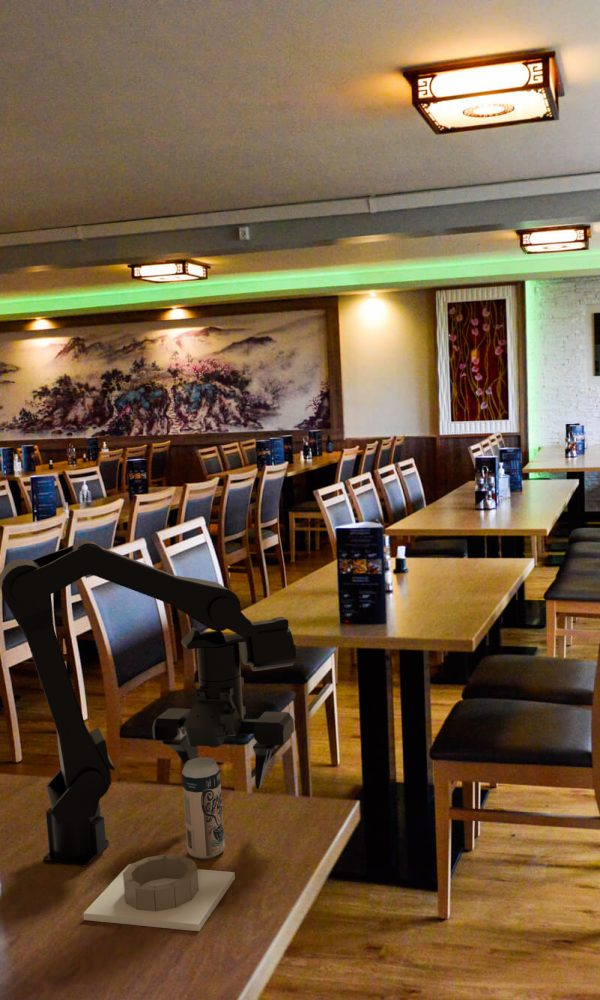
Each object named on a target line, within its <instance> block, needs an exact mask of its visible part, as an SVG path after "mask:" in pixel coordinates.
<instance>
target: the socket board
mask: <svg viewBox="0 0 600 1000" xmlns="http://www.w3.org/2000/svg"><path fill="white" fill-rule="evenodd" d="M235 874H236V873H235V872H234V871H222V870H209V869H200V868H199V869H198V867H197V865H196V862H195V861H194V860H192V859H190V858H189V857H186V856H184V855H177V854H159V855H154V856H153V855H152V856H148V857H145V858H143V859H141V860H138V861H136V862H134V863H128V865H127V866H126V867H124V869H123V870H122V871H121V872H120V873H119V874H118V875H117V876H116V877H115V879H113V880H112V882H111V883H110V884H109V885H108V886H107V887H106V888H105V889H104V890H103V891H102V893H101V894H99V896H98V897H97V898H96V899H95V900H94V901H93V902H92V903H91V904H90V905H89V906H88V907H87V909H86V910H85V911H84V912H83V920H84V921H92V922H102V923H112V924H122V925H131V926H132V925H133V926H139V927H141V926H143V927H151V928H152V927H153V928H163V929H172V930H182V931H183V930H184V931H193V932H194V931H195V932H200V931H201V929H202V928H203V926H204V925H205V923H206V922H207V920H208V919H209V917H210V916H211V914H212V913H213V911H214V910H215V909H216V907H218V904H219V903H220V901H221V900H222V898H223V897H224V895H225V894H226V892H227V891H228V890H229V888H230V886H232V884H233V883H234V880H235V879H236V875H235Z"/></svg>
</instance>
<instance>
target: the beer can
mask: <svg viewBox="0 0 600 1000" xmlns="http://www.w3.org/2000/svg"><path fill="white" fill-rule="evenodd" d="M220 770H221V769H220V766H219V765H218V764H217V761H216V759H214V758H212V757H198V758H194V759H191V760H189V761H187V762H186V763H185V766H184V765H183V768H182V770H181V778H182V790H183V791H182V792H183V807H184V808H183V809H184V819H185V820H184V821H185V835H186V846H187V847H186V848H187V853H188V854H189V855H190V856H192V857H194V858H195V859H199V860H208V859H214V858H215V857H217V856H219V854H220V855H221V853H222V852H223V851H224V850H225V845H226V844H225V831H224V817H223V801H222V786H221V771H220Z"/></svg>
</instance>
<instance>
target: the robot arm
mask: <svg viewBox="0 0 600 1000" xmlns="http://www.w3.org/2000/svg"><path fill="white" fill-rule="evenodd" d="M88 575H89V576H90V575H91V576H93V577H97V578H99V579H102V580H105V581H108V582H110V583H112V584H113V583H114V584H115V585H118V586H121V587H124V588H126V589H129V590H131V591H134V592H136V593H140V594H142V595H144V596H147V597H150V598H153V599H155V600H158V601H160V602H163V603H166V604H169V605H171V606H173V608H175V609H177V610H178V611H180V612H182V613H184V614H185V615H186V616H188V617H189V618H190V619H191V618H192V619H193V620H195V621H197V622H198V623H200V624H201V625H202V626H204V627H206V628H208V629H210V631H204V632H199V630H197V629H196V628H195V627H191V629H190V631H189V632H188V633H187V634H186V636H184V637H183V638H182V639H181V641H180V643H181V645H182V646H183V647H184V648H186V649H187V650H189V651H191V650H196V657H197V671H198V672H197V673H198V684H199V685H198V687H196V688H195V690H196V691H195V692H196V693H195V702H194V705H193V707H192V708H175V707H174V708H172V707H171V708H167V709H166V710H165V711H164V712H162V713H161V714H160V715H158V717H156V718H155V719H154V720H153V724H152V739H153V740H155V741H162V745H164V746H167V747H170V748H171V749H172V750H174V751H175V752H176V753H177V755H178V757H179V758H180V760H181V763H182V764H183V767H184V766H185V763H186V762H187V761H189V760H191V759H194V758H199V751H198V747H210V748H214V749H217V748H220V747H221V746H222V745H223V744H224V742H225V739H227V738H228V737H236V736H237V735H238V734H246V735H248V734H249V735H253V739H254V740H255V741H256V742H255V744H254V745H253V746H252V749H253V752H254V754H255V757H254V759H255V760H254V761H255V762H254V763H255V765H254V769H255V770H254V783H255V784H254V785H255V789H256V790H260V789H261V788H262V784H263V783H264V782H263V781H264V778H265V775H266V772H267V769H268V765H269V762H270V759H271V757H272V753H273V751H274V750H276V749H277V748H278V747H279V746H281V745H285V743H287V741H288V740H289V738H290V737H291V736H292V734H293V733H294V732H295V724H294V718H293V716H292V715H291V714H290V713H289V712H288V711H264V712H263V713H262V714H261V715H260V717H259V718H257V719H255V718H254V719H252V718H251V719H250V718H244V716H245V715H246V713H247V711H246V710H247V709H246V705H245V706H244V705H243V691H242V690H243V689H242V687H243V686H244V685H245V681H244V680H245V679H244V677H242V674H241V662H242V663H243V665H244V666H248V665H249V667H250V669H251V671H252V672H257V671H258V672H259V671H264V670H265V671H266V670H271V669H278V668H285V667H290V666H294V664H295V662H296V658H297V648H296V643H294V638H293V634H292V631H291V629H290V627H289V620H288V619H287V618H286V617H284V616H279V617H273V618H270V619H267V620H259V621H252V620H250V619H249V618H247V617H246V616H245V614H244V613H243V612H242V611H241V610H242V605H241V601H240V598H239V596H238V595H237V594H236V593H235V592H234V591H232V590H231V589H228V588H227V587H225V586H224V585H222V584H220V583H218V582H215V581H210V580H206V579H201V578H200V579H199V578H195V577H194V578H193V577H187V576H179V575H176V574H172V573H170V572H167V571H164V570H161V569H159V568H156V567H154V566H152V565H149V564H146V563H144V562H141V561H138V560H136V559H133V558H131V557H129V556H126V555H123V554H121V553H118V552H115V551H113V550H110V549H108V548H105V547H103V546H99V545H98V544H97V543H96V542H94V541H92V540H88V539H86V540H85V539H84V540H79V541H78V542H75V544H72V545H70V546H68V547H65V548H62V549H58V550H56V551H52V552H50V553H46V554H44V555H41V556H39V557H36V558H35V559H27V558H18V559H17V558H16V559H13V560H11V561H10V562H8V563H7V564H6V565H5V566H4V567H3V568H2V571H1V572H0V592H1V595H2V597H3V600H4V602H5V604H6V606H7V607H8V609H9V611H10V612H11V614H12V616H13V618H14V619H15V621H16V623H17V625H18V626H19V628H20V630H21V632H22V633H23V635H24V637H25V639H26V642H27V644H28V645H27V646H28V647H29V650H30V653H31V657H32V660H33V662H34V663H33V664H34V665H35V669H36V671H37V675H38V678H39V681H40V684H41V687H42V689H43V690H42V691H43V692H44V696H45V699H46V701H47V706H48V708H49V711H50V713H51V717H52V721H53V723H54V726H55V730H56V740H57V747H58V748H57V750H58V756H59V757H58V758H59V763H60V769H59V770H58V771H57V772H56V774H55V775H54V776H53V777H52V779H50V781H49V782H48V783H47V784H46V787H45V788H46V792H47V797H48V800H49V803H50V807H49V808H48V809H46V811H45V819H46V820H45V821H46V831H47V843H48V853H46V854H45V855H44V856H43V857H42V863H48V864H62V865H73V866H84V867H85V866H88V865H90V864H91V863H92V862H93V861H94V860H95V859H96V858H97V857H98V855H100V854H101V853H102V852H103V851H104V850H105V849H106V848H107V847H108V846H109V845H110V841H109V840H108V839H106V838H107V837H106V828H105V827H106V826H105V818H104V816H102V815H101V804H100V800H101V799H102V798H103V797H104V796H105V795H106V794H107V793H108V791H109V789H110V787H111V785H112V781H113V780H112V773H111V771H114V770H115V769H116V768H115V767H116V766H114V764H113V762H112V759H111V757H110V754H109V753H108V746H107V740H106V739H105V737H104V735H103V733H102V730H101V729H100V727H96V728H95V729H93V730H91V731H90V730H89V728H88V727H87V725H86V723H85V720H84V717H83V713H82V711H81V708H80V705H79V701H78V698H77V695H76V692H75V689H74V685H73V682H72V679H71V676H70V673H69V670H68V668H67V664H66V661H65V658H64V655H63V653H62V648H61V646H60V644H59V640H58V637H57V633H56V630H55V625H54V613H53V611H54V610H53V602H52V594H54V593H56V592H59V591H61V590H63V589H65V588H66V587H68V586H70V585H72V584H73V583H75V582H77V581H79V580H80V579H82V578H84V577H87V576H88ZM211 630H212V631H211ZM226 630H229V631H231V632H233V633H234V634H232V633H231V634H224V633H223V631H226ZM240 657H241V659H240Z"/></svg>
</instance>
